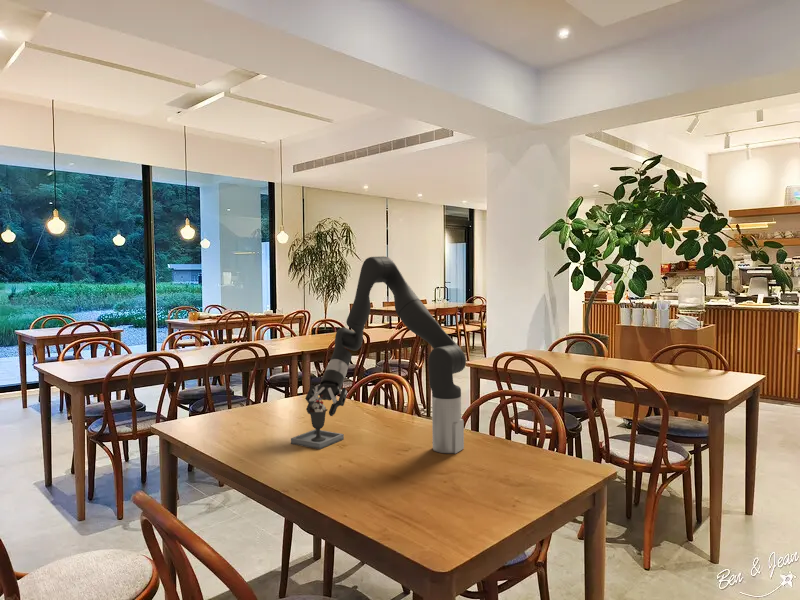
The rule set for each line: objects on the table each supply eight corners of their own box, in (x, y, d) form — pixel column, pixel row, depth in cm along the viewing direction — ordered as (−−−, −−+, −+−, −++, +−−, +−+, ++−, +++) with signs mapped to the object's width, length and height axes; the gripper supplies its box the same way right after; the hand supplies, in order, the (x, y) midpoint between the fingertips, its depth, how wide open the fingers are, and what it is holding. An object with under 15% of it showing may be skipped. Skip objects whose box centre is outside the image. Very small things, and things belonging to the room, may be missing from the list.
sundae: (330, 436, 188) (329, 393, 187) (325, 442, 181) (324, 398, 180) (311, 436, 188) (310, 393, 188) (306, 442, 182) (305, 397, 181)
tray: (343, 439, 187) (343, 434, 187) (319, 449, 176) (319, 443, 176) (315, 434, 193) (315, 429, 193) (290, 443, 182) (290, 438, 182)
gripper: (313, 367, 196) (297, 406, 186) (349, 369, 191) (334, 409, 181) (321, 379, 201) (305, 417, 191) (355, 381, 196) (341, 421, 186)
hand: (319, 413), depth 186 cm, fingers open, 8 cm apart
